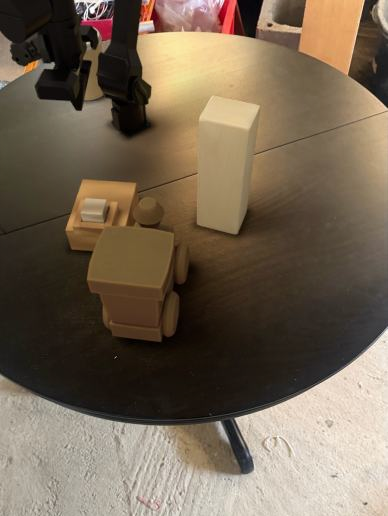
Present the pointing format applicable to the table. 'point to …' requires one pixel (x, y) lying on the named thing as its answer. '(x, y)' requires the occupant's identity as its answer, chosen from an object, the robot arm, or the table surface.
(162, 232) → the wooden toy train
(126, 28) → the robot arm
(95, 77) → the coffee cup
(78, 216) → the box with white insert
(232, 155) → the tall cream block
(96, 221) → the white rounded block
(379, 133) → the table surface
